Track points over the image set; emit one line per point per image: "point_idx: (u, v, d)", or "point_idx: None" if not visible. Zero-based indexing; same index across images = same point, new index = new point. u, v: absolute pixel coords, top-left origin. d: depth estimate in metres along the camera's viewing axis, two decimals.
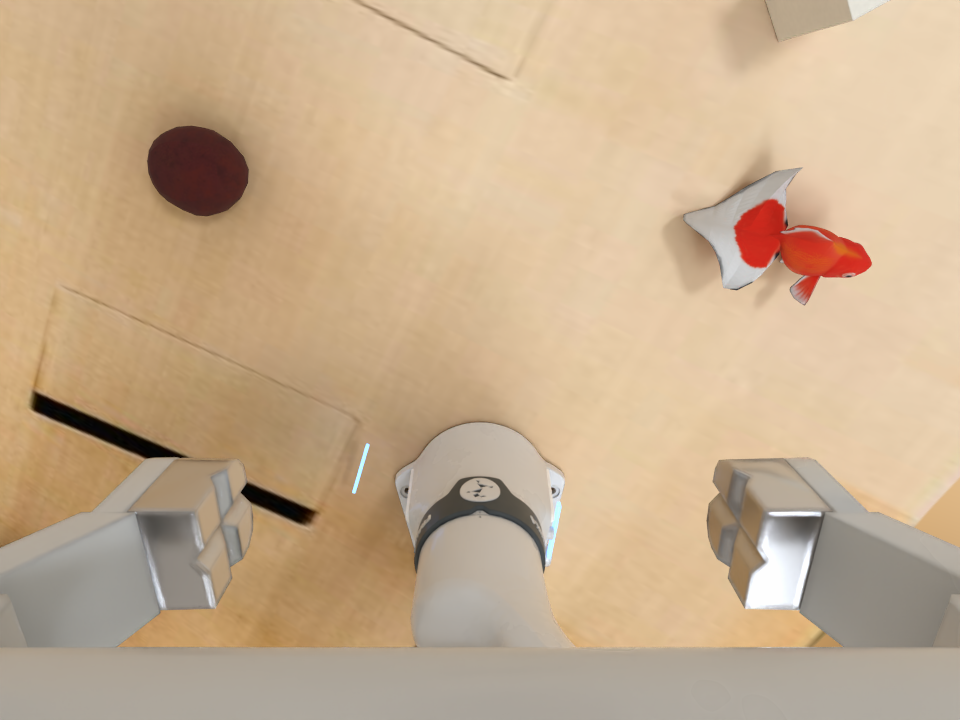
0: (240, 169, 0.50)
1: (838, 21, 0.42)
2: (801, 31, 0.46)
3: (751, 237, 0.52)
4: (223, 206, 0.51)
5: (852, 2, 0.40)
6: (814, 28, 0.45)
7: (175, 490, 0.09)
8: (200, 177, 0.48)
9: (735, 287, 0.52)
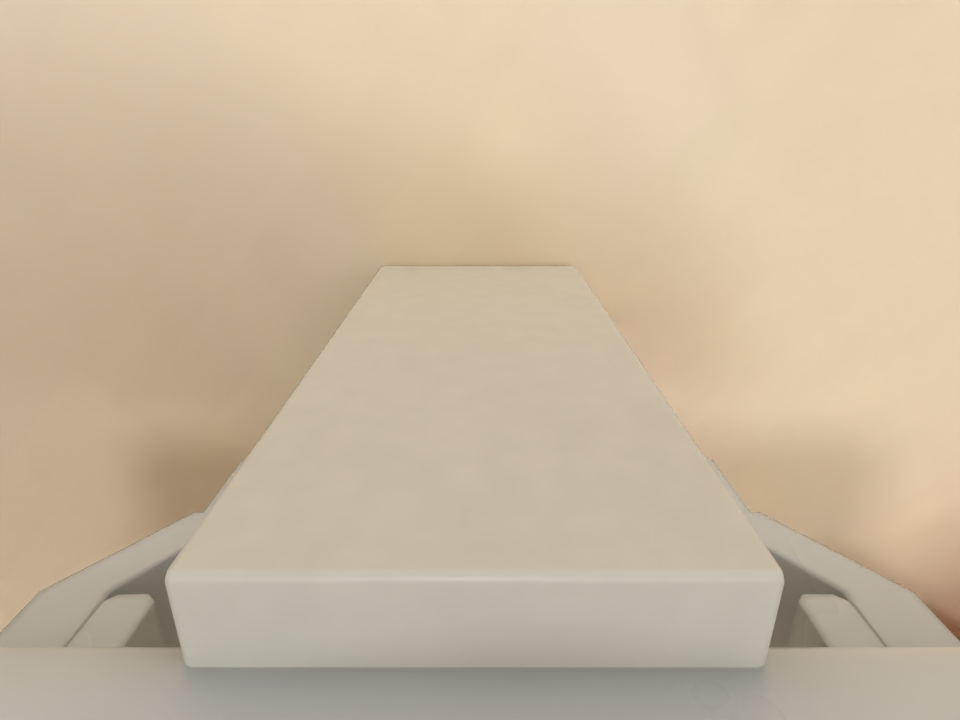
0: None
1: None
2: None
3: None
4: None
5: None
6: None
7: None
8: None
9: None
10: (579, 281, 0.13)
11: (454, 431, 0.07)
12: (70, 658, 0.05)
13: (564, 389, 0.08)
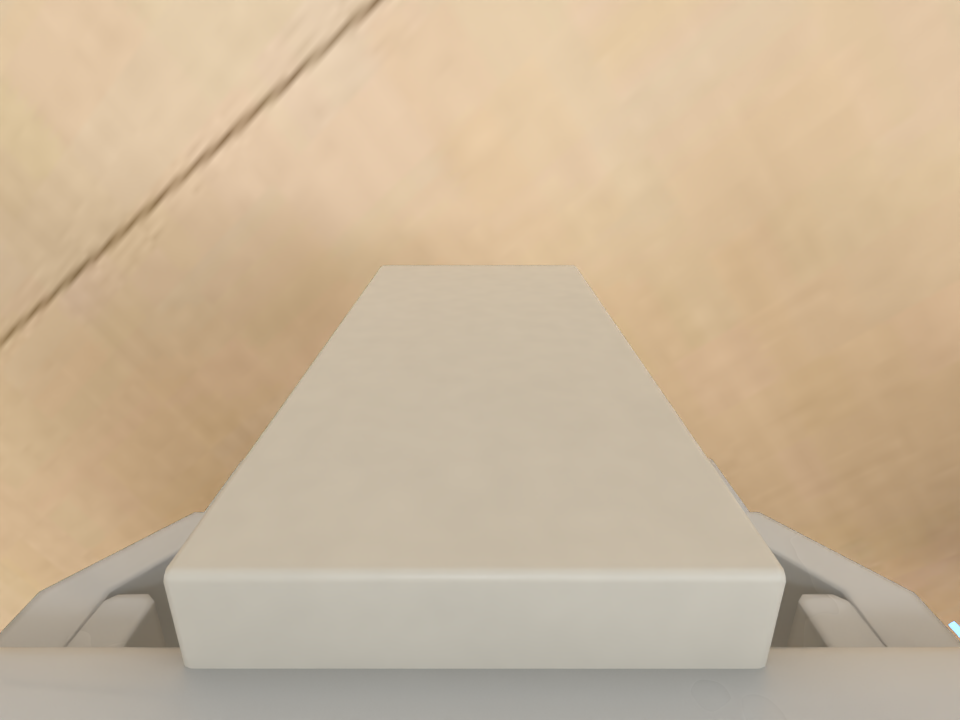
0: None
1: None
2: None
3: None
4: None
5: None
6: None
7: None
8: None
9: None
10: (579, 280, 0.13)
11: (454, 429, 0.07)
12: (70, 658, 0.05)
13: (565, 388, 0.08)
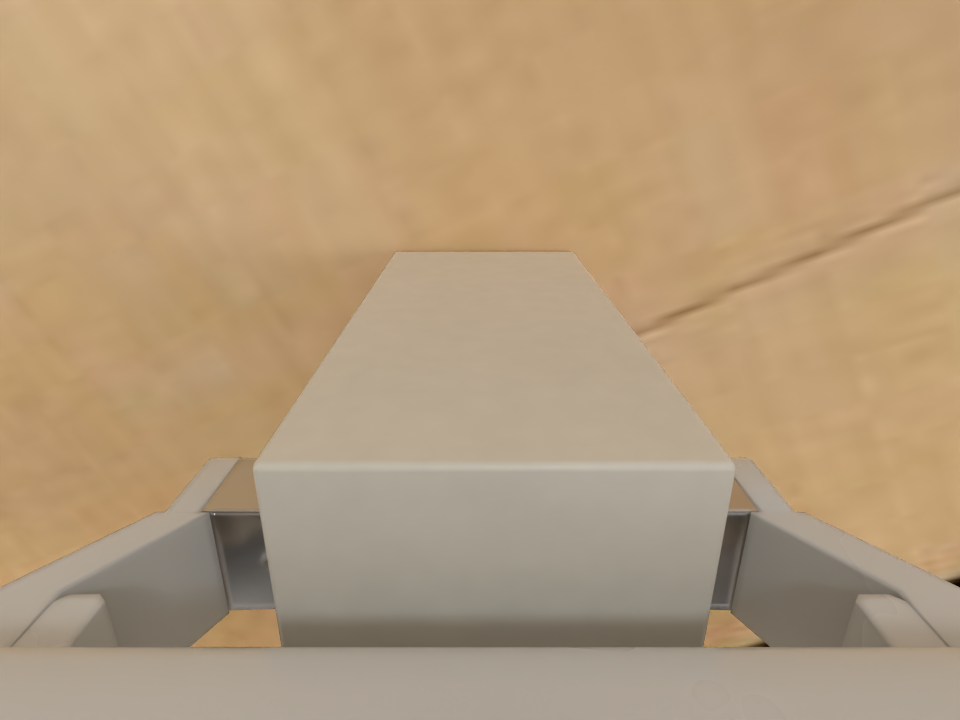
0: None
1: None
2: None
3: None
4: None
5: None
6: None
7: (245, 490, 0.09)
8: None
9: None
10: (577, 263, 0.14)
11: (471, 374, 0.08)
12: (70, 658, 0.05)
13: (564, 345, 0.09)
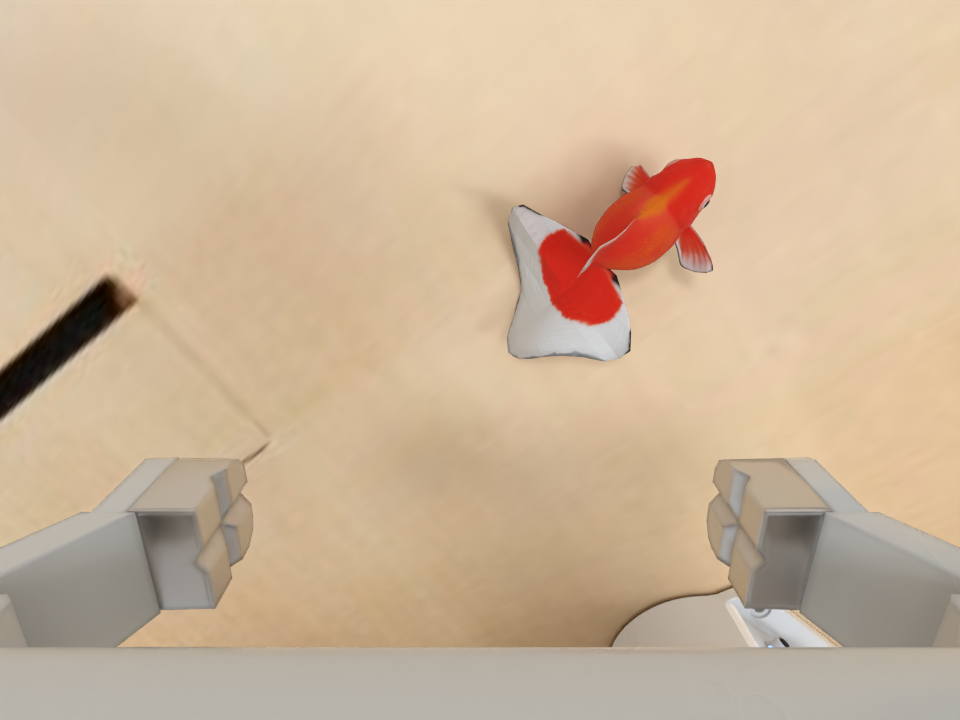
0: None
1: None
2: None
3: (574, 295, 0.36)
4: None
5: None
6: None
7: (175, 490, 0.09)
8: None
9: (625, 350, 0.36)
10: None
11: None
12: (70, 658, 0.05)
13: None
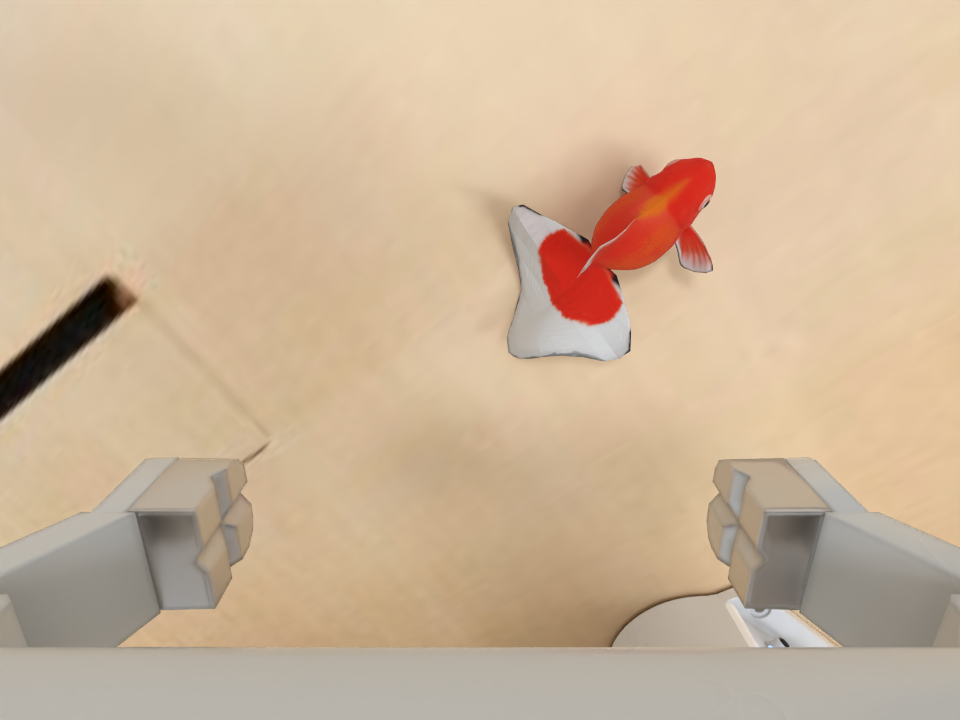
0: None
1: None
2: None
3: (574, 295, 0.36)
4: None
5: None
6: None
7: (175, 490, 0.09)
8: None
9: (625, 350, 0.36)
10: None
11: None
12: (70, 658, 0.05)
13: None
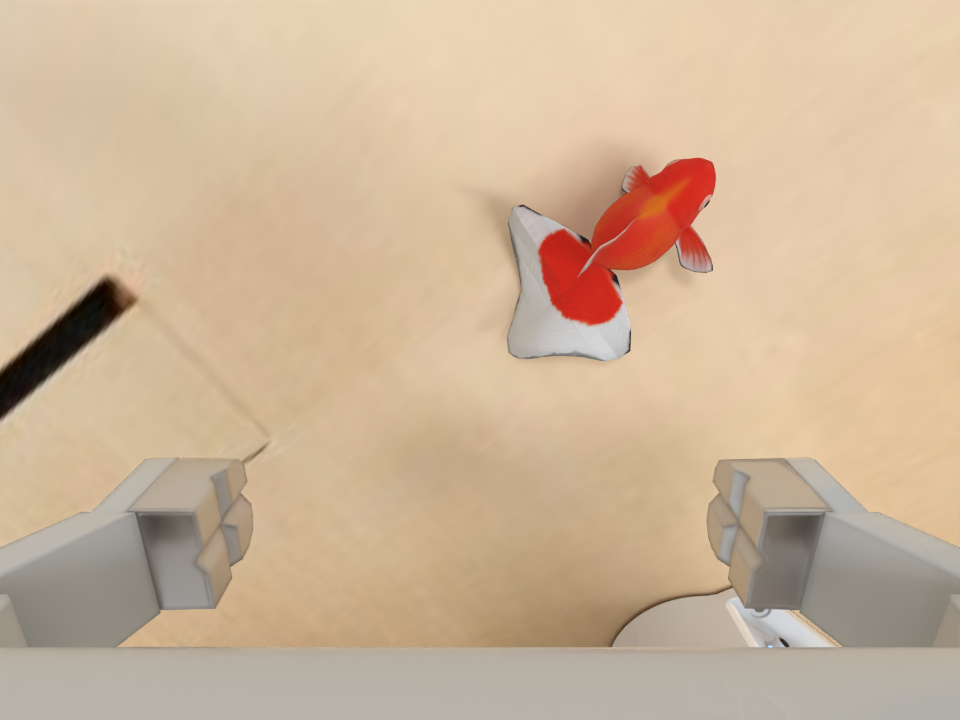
0: None
1: None
2: None
3: (574, 295, 0.36)
4: None
5: None
6: None
7: (175, 490, 0.09)
8: None
9: (625, 350, 0.36)
10: None
11: None
12: (70, 658, 0.05)
13: None
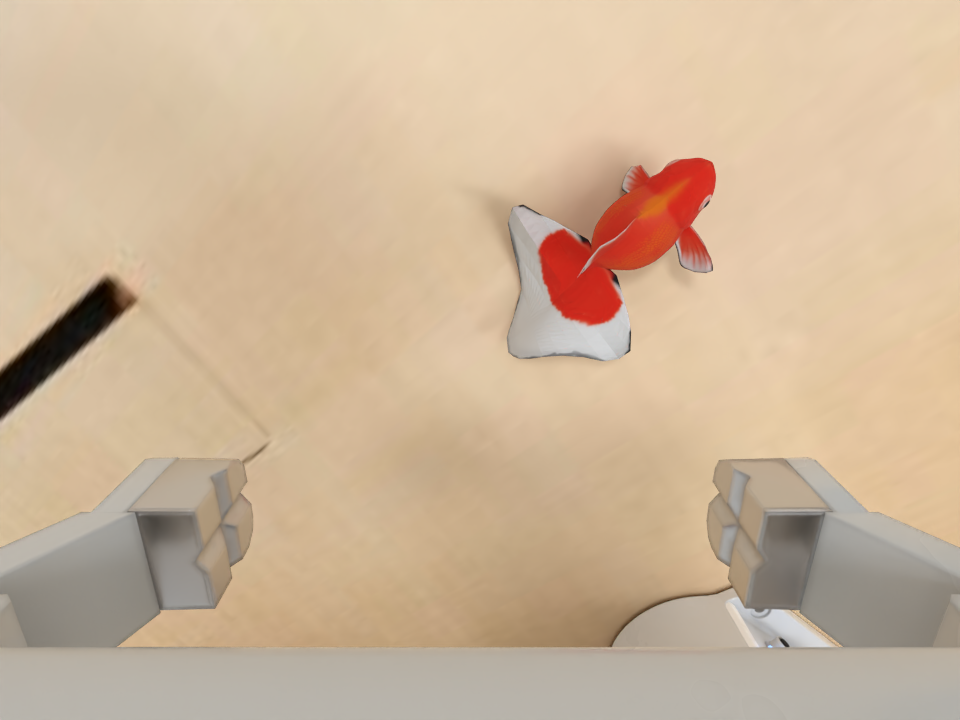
0: None
1: None
2: None
3: (574, 295, 0.36)
4: None
5: None
6: None
7: (175, 490, 0.09)
8: None
9: (625, 350, 0.36)
10: None
11: None
12: (70, 658, 0.05)
13: None
